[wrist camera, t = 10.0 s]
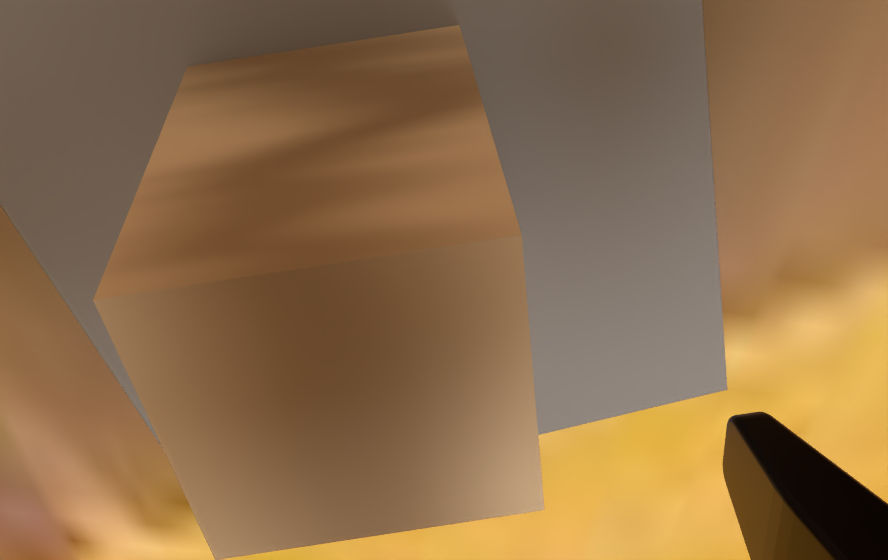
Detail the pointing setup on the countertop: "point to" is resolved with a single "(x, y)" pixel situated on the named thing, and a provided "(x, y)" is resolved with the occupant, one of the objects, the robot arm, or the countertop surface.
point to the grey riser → (514, 133)
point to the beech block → (330, 298)
